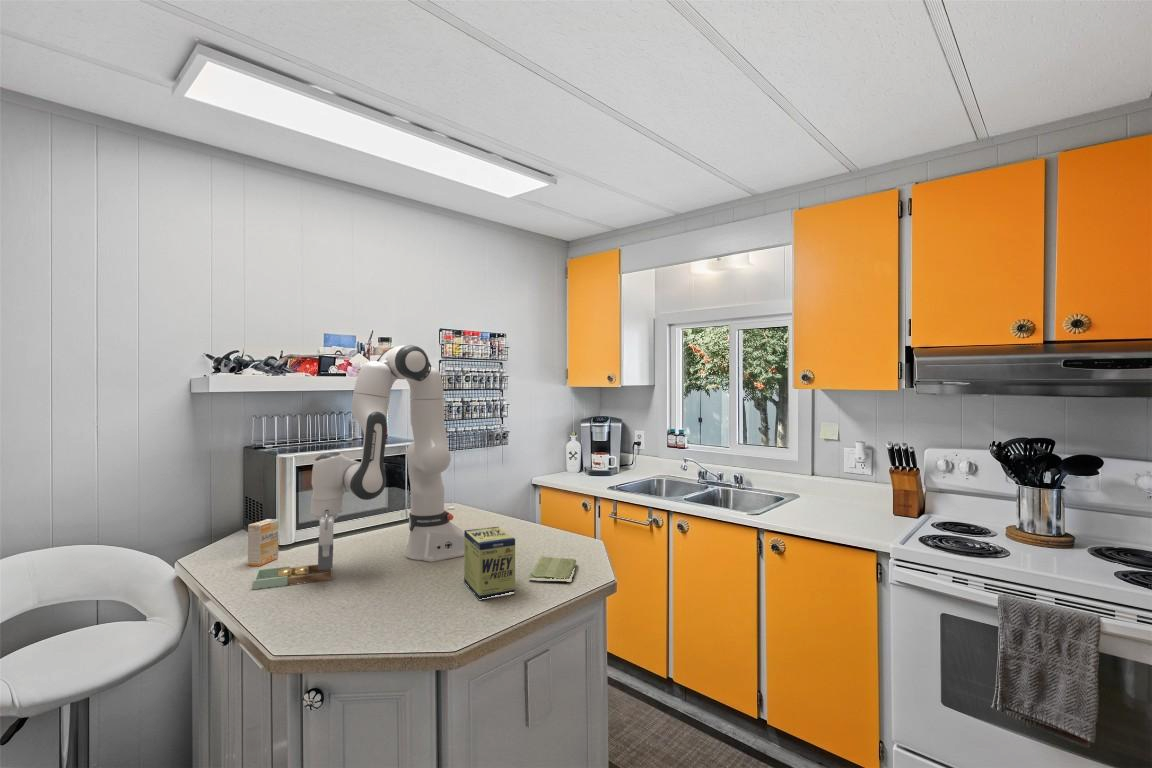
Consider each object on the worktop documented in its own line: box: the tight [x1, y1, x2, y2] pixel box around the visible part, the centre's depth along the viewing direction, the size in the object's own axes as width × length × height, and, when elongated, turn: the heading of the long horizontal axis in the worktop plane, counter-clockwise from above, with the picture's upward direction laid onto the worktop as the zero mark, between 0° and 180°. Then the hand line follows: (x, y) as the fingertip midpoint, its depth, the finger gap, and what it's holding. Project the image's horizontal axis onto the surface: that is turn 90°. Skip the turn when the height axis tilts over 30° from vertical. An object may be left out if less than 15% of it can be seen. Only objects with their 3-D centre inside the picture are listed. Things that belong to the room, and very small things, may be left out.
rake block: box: [317, 542, 334, 570], centre depth 167 cm, size 4×6×9 cm
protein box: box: [463, 526, 516, 599], centre depth 157 cm, size 10×16×16 cm
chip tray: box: [252, 565, 291, 590], centre depth 161 cm, size 8×10×2 cm
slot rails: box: [287, 563, 332, 586], centre depth 165 cm, size 12×10×2 cm
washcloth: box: [529, 556, 577, 579], centre depth 170 cm, size 13×18×3 cm
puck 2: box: [294, 565, 309, 576], centre depth 164 cm, size 4×4×3 cm
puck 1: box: [277, 567, 292, 577], centre depth 163 cm, size 4×4×3 cm
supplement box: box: [247, 518, 280, 567], centre depth 179 cm, size 8×5×13 cm, turn 168°
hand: (325, 552), depth 167 cm, fingers closed on rake block, 5 cm apart
